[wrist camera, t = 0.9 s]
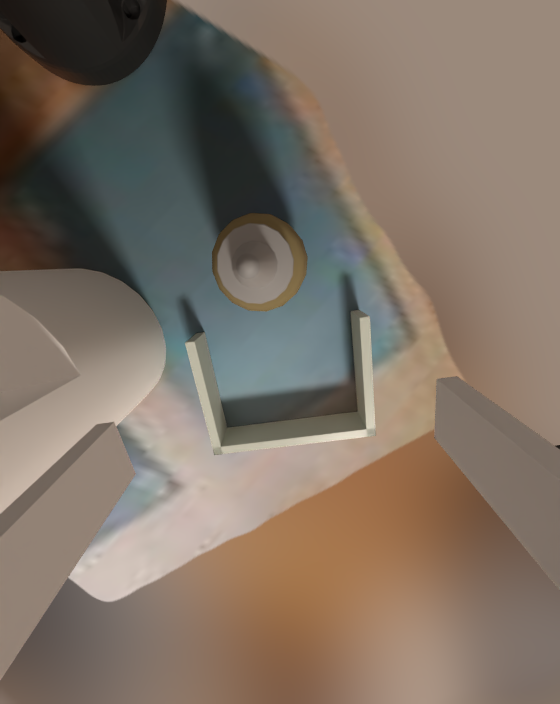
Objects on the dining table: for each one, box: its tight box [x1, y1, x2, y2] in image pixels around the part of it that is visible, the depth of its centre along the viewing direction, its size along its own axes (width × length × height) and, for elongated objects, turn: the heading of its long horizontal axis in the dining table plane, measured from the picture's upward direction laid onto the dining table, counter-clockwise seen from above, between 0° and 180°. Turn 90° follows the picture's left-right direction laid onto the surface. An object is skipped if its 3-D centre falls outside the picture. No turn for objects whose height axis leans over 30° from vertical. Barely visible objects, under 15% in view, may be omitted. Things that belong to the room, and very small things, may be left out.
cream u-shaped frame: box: [185, 310, 376, 455], centre depth 33 cm, size 14×19×4 cm
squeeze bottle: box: [212, 213, 307, 311], centre depth 22 cm, size 8×8×18 cm
